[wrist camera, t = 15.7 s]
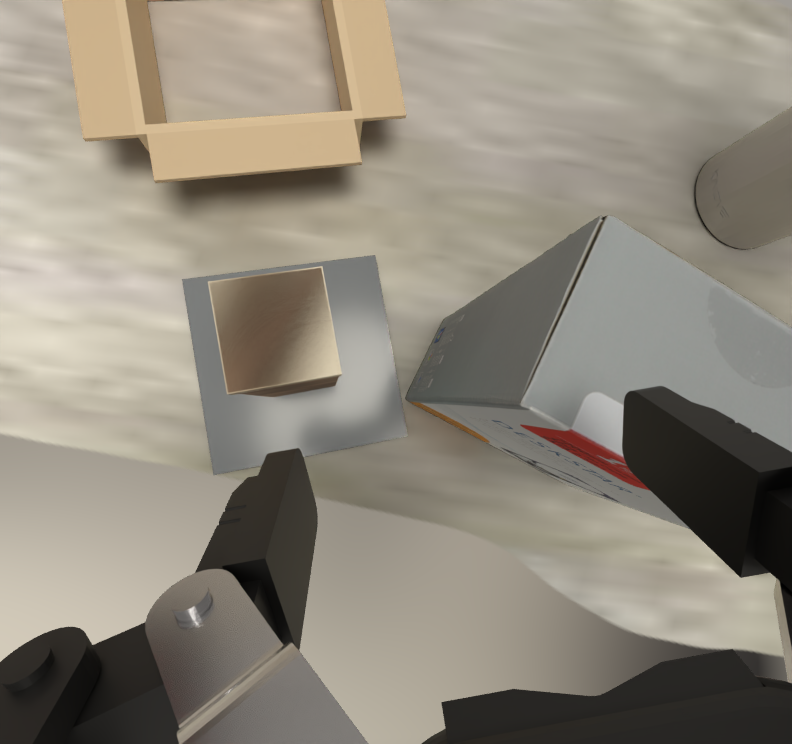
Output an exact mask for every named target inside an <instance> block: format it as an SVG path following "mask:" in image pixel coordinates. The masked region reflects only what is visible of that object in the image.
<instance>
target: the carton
mask: <svg viewBox="0 0 792 744" xmlns="http://www.w3.org/2000/svg"><path fill="white" fill-rule="evenodd" d="M147 1H162V0H62V4H63V10H64V17H65V23H66V30H67V36H68V43H69V49H70V56H71V62H72V69H73V75H74V82H75V89H76V95H77V102H78V108H79V115H80V121H81V128H82V134H83V139H84V140H85V141H99V140H113V139H127V138H139V139H140V141H141V142H142V143H143V145H144V146H145V147H146V149H147V150H148V152H149V153H150V158H151V164H152V170H153V177H154V181H155V182H156V183H163V182H174V181H185V180H196V179H207V178H218V177H230V176H241V175H252V174H263V173H274V172H285V171H296V170H307V169H319V168H330V167H341V166H352V165H362V160H361V154H360V149H359V147H360V139H361V131H362V122H363V121H373V120H387V119H401V118H406V112H405V106H404V101H403V96H402V90H401V85H400V79H399V74H398V69H397V63H396V58H395V53H394V47H393V42H392V37H391V31H390V26H389V21H388V15H387V10H386V5H385V0H322V6H323V12H324V17H325V23H326V28H327V34H328V39H329V45H330V50H331V56H332V61H333V67H334V73H335V78H336V84H337V89H338V95H339V100H340V106H341V111H337V112H323V113H308V114H293V115H279V116H264V117H249V118H235V119H220V120H206V121H191V122H176V123H167V122H166V116H165V110H164V104H163V97H162V91H161V85H160V79H159V73H158V67H157V60H156V54H155V48H154V42H153V36H152V30H151V23H150V17H149V11H148V5H147Z"/></svg>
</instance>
